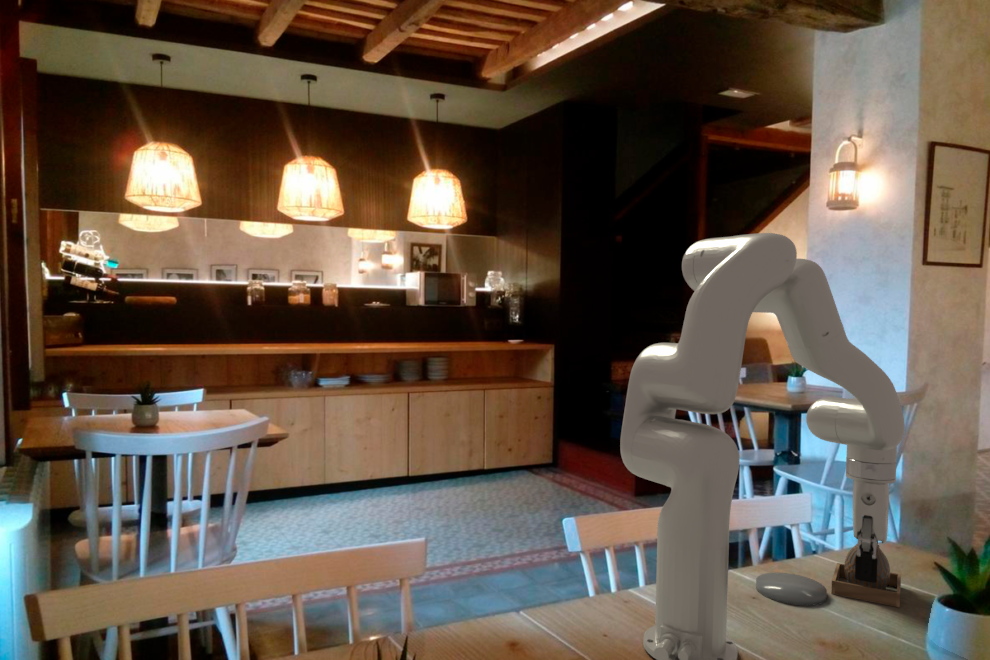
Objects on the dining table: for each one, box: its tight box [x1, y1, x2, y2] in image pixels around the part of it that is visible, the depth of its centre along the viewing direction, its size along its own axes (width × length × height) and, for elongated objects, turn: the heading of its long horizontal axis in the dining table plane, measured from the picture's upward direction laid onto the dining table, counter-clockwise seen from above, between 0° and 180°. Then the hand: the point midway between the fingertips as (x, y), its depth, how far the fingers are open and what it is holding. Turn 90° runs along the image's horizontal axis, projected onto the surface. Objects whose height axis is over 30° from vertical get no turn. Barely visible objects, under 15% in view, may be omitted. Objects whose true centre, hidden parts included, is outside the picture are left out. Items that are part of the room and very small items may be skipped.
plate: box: [755, 572, 828, 607], centre depth 119 cm, size 11×11×1 cm
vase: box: [844, 538, 891, 590], centre depth 120 cm, size 7×7×9 cm
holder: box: [830, 562, 902, 608], centre depth 120 cm, size 10×10×2 cm
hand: (866, 572), depth 120 cm, fingers closed on vase, 6 cm apart
